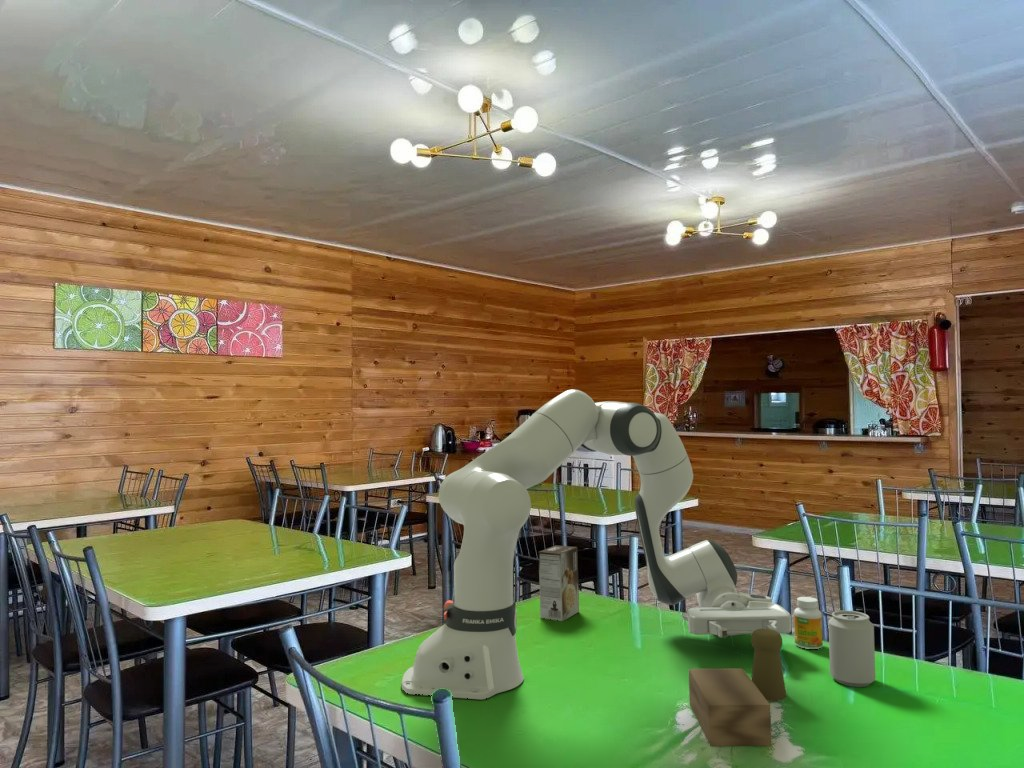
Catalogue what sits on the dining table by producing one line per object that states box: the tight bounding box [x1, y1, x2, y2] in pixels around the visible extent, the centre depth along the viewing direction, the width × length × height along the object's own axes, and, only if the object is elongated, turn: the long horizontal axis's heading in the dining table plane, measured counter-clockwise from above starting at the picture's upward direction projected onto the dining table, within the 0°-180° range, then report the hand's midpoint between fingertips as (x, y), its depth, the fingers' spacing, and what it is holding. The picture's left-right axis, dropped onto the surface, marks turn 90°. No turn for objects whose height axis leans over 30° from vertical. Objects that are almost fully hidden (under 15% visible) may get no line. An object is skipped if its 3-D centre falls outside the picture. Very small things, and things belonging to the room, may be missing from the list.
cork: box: [750, 629, 787, 702], centre depth 128 cm, size 6×6×11 cm
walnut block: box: [688, 668, 772, 747], centre depth 116 cm, size 9×15×6 cm, turn 178°
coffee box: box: [538, 545, 580, 622], centre depth 178 cm, size 9×6×16 cm
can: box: [827, 610, 876, 688], centre depth 133 cm, size 8×8×12 cm
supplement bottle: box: [793, 596, 824, 650], centre depth 152 cm, size 5×5×10 cm
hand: (748, 632), depth 140 cm, fingers open, 8 cm apart
